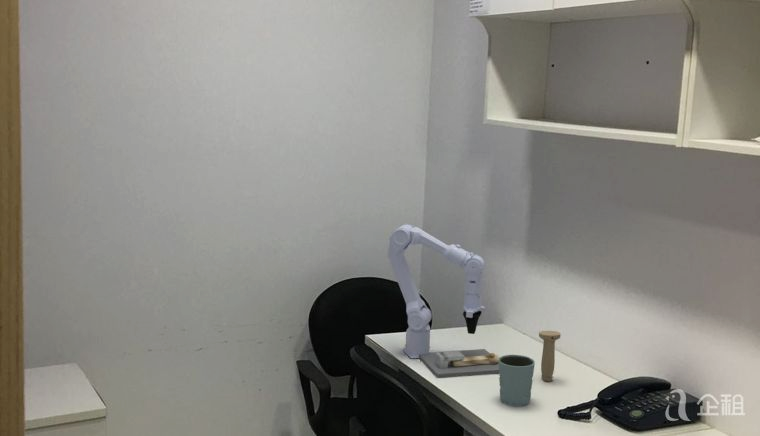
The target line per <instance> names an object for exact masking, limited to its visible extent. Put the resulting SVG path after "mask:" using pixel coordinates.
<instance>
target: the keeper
mask: <svg viewBox="0 0 760 436" xmlns="http://www.w3.org/2000/svg"><path fill="white" fill-rule="evenodd" d="M451 351H452V352H444V351H435V352H436V353H435V364H436V365H437V366H438V367H439V368H440V369H443V368H448V361H454V360H464V358H465V356H464V355H463V354H462V353H461V352H459V351H460V350H451Z"/></svg>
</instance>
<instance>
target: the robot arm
mask: <svg viewBox="0 0 760 436" xmlns="http://www.w3.org/2000/svg"><path fill="white" fill-rule="evenodd" d="M388 240H389V241H388V243H389V244H388V250H387V258H388V260H389V262H390V263H389V264H390V265H391V267H392V270H393V273H394V276H395V278H396V281H397V284H398V286H399V288H400V292H401V293H402V296H403V299H404V302H405V306H406V307H405V308H406V309H405V310H406V315H407V324H408V328H407V329H406V331H405V347H403V348H402V350H403V352H404V353H405V354H406V355H407V356H408V357H409V358H410V359H419V355H422V354H427V353H429V352H430V346H431V345H430V343H431V327H430V324H429V323H430V321H431V320H432V317H433V314H432V311H431V310H430V308H429V307H427V305H426V303H425V301H424V300H423V299H422V298H421V296H420V293H419V290H418V288H417V285H416V282H415V280H414V278H413V275H412V272H411V270H410V267H409V264H408V262H407V259H406V257H405V253H406V252H407V249H408V248H409V246H410V245H411V246H414V245H423V246H426V247H427V248H429V249H431V250H433V251H436V252H438V253H440V254H442V255H443V257H444V260H445V261H447V262H449V263H450V264H453V265H455V266H456V267H458V268H460V269H462V270H463V271H464V272H465V278H464V279H465V280H464V296H463V306H462V308H463V310H464V311H463V313H462V315H463V318H464V321H465V323H466V330H467V334H471V335H475V333H476V330H477V327H478V322H479V319H480V317H481V316H482V311H484V310H486V306H485V305H483V304H482V301H483V287H484V286H483V285H484V284H483V283H484V279H483V277H484V276H483V275H484V273H483V270H484V268H485V263H486V262H485V260H484V259H483V257H482V256H480V254H474V252H472V251H470V252H469V251H467V250H466V249H463V248H461V247H462V245H460V244H452V243H451V244H446V243H444V242H443V241H442V240H439V239H438V238H436V237H435V236H433V235H431V234H429V233H428V232H426V231H424V230H423V229H421V228H420V227H417V226H414V225H412V224H410V223H403V224H402V225H401V226H400V227H399V226H398V227H396V228H395V229H394V230H393V231H392V233H391V235H390V236H389V239H388Z"/></svg>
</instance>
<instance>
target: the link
mask: <svg viewBox="0 0 760 436" xmlns="http://www.w3.org/2000/svg"><path fill="white" fill-rule="evenodd" d="M489 353H490V352H489ZM499 358H500V356H499V355H498V354H495V353H493V352H491V353H490V354H488V355H485V356H474V357H465V358H464V360H454V361H450V364H451V365H452V366H454V367H456V366H467V365H479V364H497V363H498V359H499Z"/></svg>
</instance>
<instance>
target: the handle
mask: <svg viewBox="0 0 760 436" xmlns="http://www.w3.org/2000/svg"><path fill="white" fill-rule="evenodd" d="M538 336H539V338H540V339H541V340H543V346H542V354H541V364H540V365H541V366H540V367H541V368H540V370H541V371H540V372H541V380H542V381H543V382H552V381H553V378H554V376H553V375H554V373H555V362H556V361H555V360H556V359H555V356H556V355H555V351H556V350H555V349H556V348H555V344H556V341H557V340H559V339H561V336H562V335H561V333H560V332H558V331H555V330H541V331H539V333H538Z"/></svg>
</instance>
